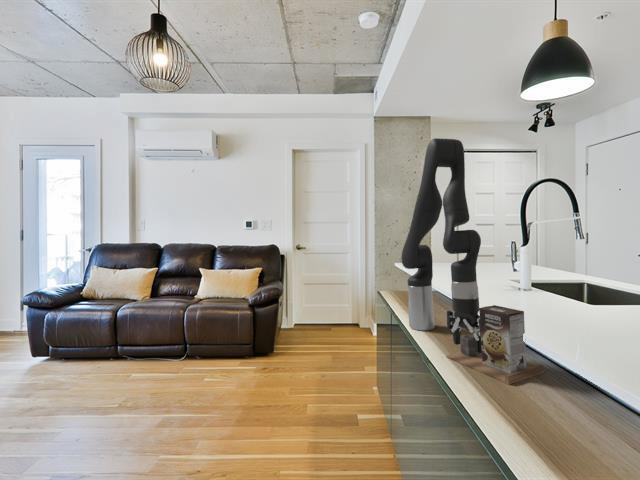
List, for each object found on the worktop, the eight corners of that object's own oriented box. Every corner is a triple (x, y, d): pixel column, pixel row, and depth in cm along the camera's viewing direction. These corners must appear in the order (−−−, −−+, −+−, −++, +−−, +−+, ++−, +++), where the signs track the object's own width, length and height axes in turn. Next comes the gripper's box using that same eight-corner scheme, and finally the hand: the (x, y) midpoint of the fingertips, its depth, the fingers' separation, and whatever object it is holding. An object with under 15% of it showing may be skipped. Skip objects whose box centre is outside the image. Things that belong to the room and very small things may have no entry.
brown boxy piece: (481, 364, 92) (477, 307, 92) (497, 359, 94) (493, 304, 94) (511, 376, 83) (507, 314, 83) (528, 371, 86) (524, 310, 86)
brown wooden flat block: (446, 357, 100) (445, 339, 100) (477, 348, 105) (476, 331, 105) (508, 384, 81) (507, 362, 81) (543, 372, 85) (542, 351, 85)
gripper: (438, 293, 105) (442, 343, 105) (474, 300, 92) (478, 358, 92) (456, 290, 108) (459, 339, 108) (494, 297, 95) (497, 352, 95)
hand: (468, 348), depth 100 cm, fingers open, 8 cm apart
